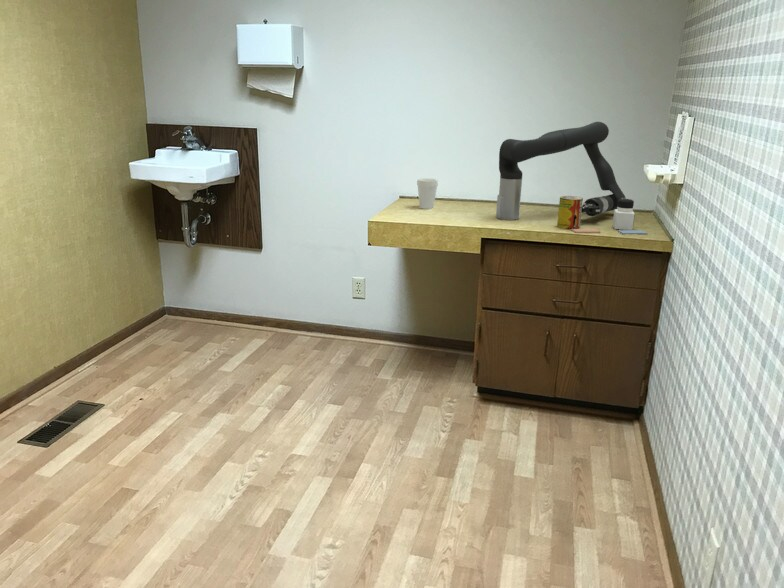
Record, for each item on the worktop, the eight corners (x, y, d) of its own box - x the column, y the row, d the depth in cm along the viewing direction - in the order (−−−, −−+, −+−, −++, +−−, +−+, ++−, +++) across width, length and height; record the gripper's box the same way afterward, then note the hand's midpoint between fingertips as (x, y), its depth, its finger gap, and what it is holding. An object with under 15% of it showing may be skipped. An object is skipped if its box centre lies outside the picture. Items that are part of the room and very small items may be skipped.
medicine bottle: (632, 230, 258) (636, 201, 254) (614, 229, 259) (618, 200, 256) (630, 227, 265) (634, 198, 261) (612, 226, 266) (615, 197, 262)
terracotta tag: (575, 233, 252) (576, 231, 251) (571, 230, 256) (571, 228, 256) (600, 233, 253) (600, 231, 252) (595, 230, 257) (595, 228, 257)
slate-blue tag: (623, 234, 251) (623, 233, 250) (617, 231, 255) (617, 230, 255) (647, 234, 252) (647, 233, 252) (641, 231, 256) (641, 230, 256)
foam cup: (437, 210, 292) (438, 181, 288) (416, 209, 292) (417, 181, 288) (435, 206, 301) (437, 178, 297) (416, 205, 301) (417, 178, 297)
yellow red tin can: (562, 229, 258) (565, 199, 254) (553, 225, 266) (556, 196, 262) (583, 229, 259) (586, 199, 255) (573, 224, 268) (576, 195, 264)
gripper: (582, 195, 279) (562, 199, 267) (611, 199, 270) (591, 204, 258) (580, 212, 281) (560, 217, 269) (609, 217, 273) (589, 222, 261)
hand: (575, 211), depth 264 cm, fingers closed
